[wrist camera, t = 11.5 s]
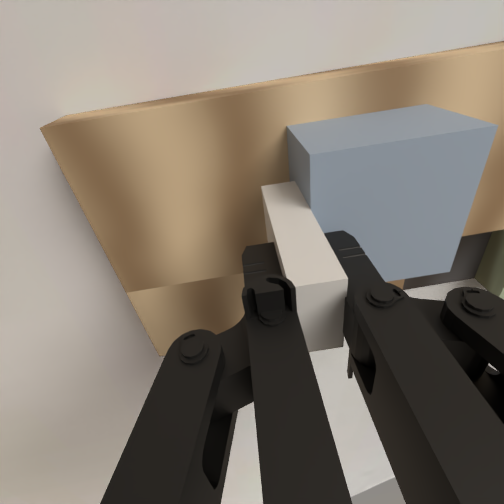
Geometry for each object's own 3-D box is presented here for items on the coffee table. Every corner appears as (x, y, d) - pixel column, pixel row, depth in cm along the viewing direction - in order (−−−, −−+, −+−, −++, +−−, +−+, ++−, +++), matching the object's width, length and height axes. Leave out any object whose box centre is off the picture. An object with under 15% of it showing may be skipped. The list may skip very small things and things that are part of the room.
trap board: (164, 327, 23) (151, 398, 18) (65, 115, 14) (-7, 150, 9) (531, 266, 22) (609, 322, 18) (663, 14, 14) (878, 0, 9)
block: (293, 242, 16) (311, 293, 13) (286, 125, 13) (309, 154, 9) (403, 225, 16) (449, 271, 13) (426, 104, 13) (498, 125, 9)
